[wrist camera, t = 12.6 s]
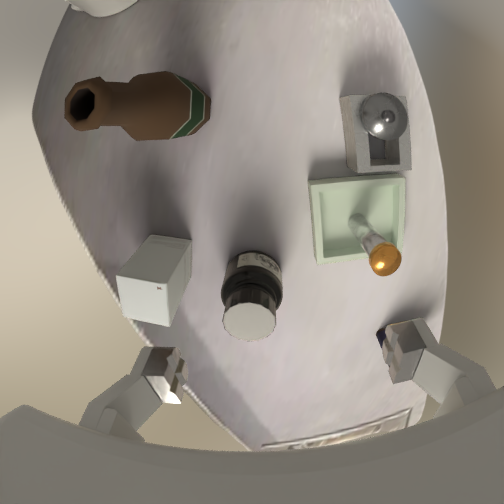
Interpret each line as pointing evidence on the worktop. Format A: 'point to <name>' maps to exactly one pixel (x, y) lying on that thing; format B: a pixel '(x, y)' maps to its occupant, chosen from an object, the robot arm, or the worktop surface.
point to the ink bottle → (251, 295)
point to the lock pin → (375, 246)
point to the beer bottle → (139, 106)
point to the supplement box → (155, 279)
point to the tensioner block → (376, 131)
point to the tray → (351, 202)
